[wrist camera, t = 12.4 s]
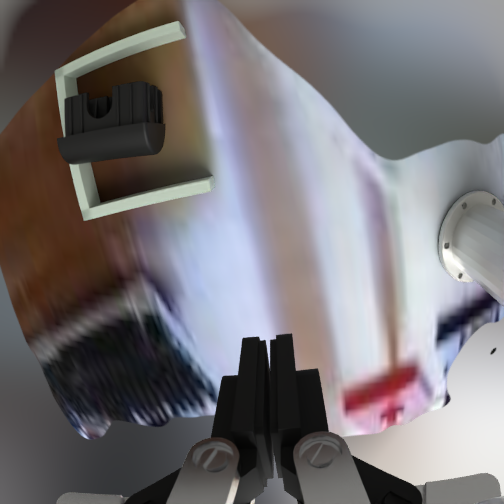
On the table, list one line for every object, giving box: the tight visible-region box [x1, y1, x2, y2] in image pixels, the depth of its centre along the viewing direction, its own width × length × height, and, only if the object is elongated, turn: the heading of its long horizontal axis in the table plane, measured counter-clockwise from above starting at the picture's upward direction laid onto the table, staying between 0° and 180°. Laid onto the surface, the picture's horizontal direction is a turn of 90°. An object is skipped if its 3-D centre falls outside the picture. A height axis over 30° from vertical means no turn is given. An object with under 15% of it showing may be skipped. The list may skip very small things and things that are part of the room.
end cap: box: [57, 81, 165, 165], centre depth 27 cm, size 10×7×7 cm
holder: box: [55, 21, 215, 221], centre depth 29 cm, size 15×18×3 cm
